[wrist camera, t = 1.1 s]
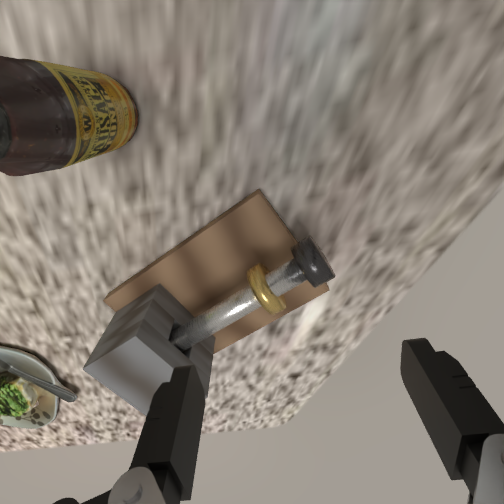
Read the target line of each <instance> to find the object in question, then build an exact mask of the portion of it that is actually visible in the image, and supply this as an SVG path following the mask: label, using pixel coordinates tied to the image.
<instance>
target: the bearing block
mask: <svg viewBox="0 0 504 504" xmlns="http://www.w3.org/2000/svg"><path fill="white" fill-rule="evenodd" d="M297 243H298V242H297V241H296V240H295V238H294V237H293V235H292V234H291V233H290V231H289V230H288V229H287V227H286V226H285V224H284V223H283V222H282V220H281V219H280V217H279V216H278V215H277V213H276V212H275V210H274V209H273V208H272V206H271V205H270V204H269V202H268V201H267V199H266V198H265V197H264V195H263V194H262V192H261V191H260V190H259V189H258V190H256V191H255V192H253V193H252V194H251V195H249V196H248V197H246V198H245V199H243V200H242V201H240V202H239V203H238V204H236V205H235V206H233V207H232V208H230V209H229V210H228V211H226V212H225V213H223V214H222V215H220V216H219V217H217V218H216V219H215V220H213V221H212V222H210V223H209V224H207V225H206V226H204V227H203V228H202V229H200V230H199V231H197V232H196V233H194V234H193V235H192V236H190V237H189V238H187V239H186V240H184V241H183V242H181V243H180V244H179V245H177V246H176V247H174V248H173V249H171V250H170V251H169V252H167V253H166V254H164V255H163V256H161V257H160V258H158V259H157V260H156V261H154V262H153V263H151V264H150V265H148V266H147V267H146V268H144V269H143V270H141V271H140V272H138V273H137V274H135V275H134V276H133V277H131V278H130V279H128V280H127V281H125V282H124V283H123V284H121V285H120V286H118V287H117V288H115V289H114V290H112V291H111V292H110V293H108V295H107V296H106V298H105V299H104V300H103V301H104V302H105V303H106V304H107V305H109V306H110V307H111V308H112V309H113V310H114V311H116V313H115V315H114V316H113V318H112V320H111V322H110V323H109V325H108V327H107V328H106V330H105V332H104V333H103V335H102V337H101V338H100V340H99V342H98V344H97V345H96V347H95V349H94V350H93V352H92V354H91V355H90V357H89V359H88V360H87V362H86V364H85V365H84V367H83V370H84V371H85V372H87V373H88V374H90V375H91V376H92V377H94V378H95V379H96V380H98V381H99V382H100V383H102V384H103V385H105V386H106V387H107V388H109V389H110V390H111V391H113V392H114V393H115V394H117V395H118V396H120V397H121V398H122V399H124V400H125V401H126V402H128V403H129V404H130V405H132V406H133V407H134V408H136V409H137V410H139V411H140V412H141V413H143V414H144V415H145V416H147V413H148V411H149V407H150V404H151V401H152V398H153V395H154V393H155V392H156V391H157V389H158V388H159V387H160V385H161V384H162V383H163V382H170V379H171V376H172V372H173V369H174V368H175V367H179V366H187V365H195V367H196V370H197V372H198V375H199V378H200V381H201V383H202V386H203V389H204V393H205V398H207V397H208V389H209V382H210V375H211V367H212V360H213V354H215V353H216V352H218V351H220V350H222V349H224V348H225V347H227V346H229V345H231V344H233V343H234V342H236V341H238V340H240V339H242V338H244V337H245V336H247V335H249V334H251V333H253V332H254V331H256V330H258V329H260V328H262V327H264V326H265V325H267V324H269V323H271V322H273V321H274V320H276V319H278V318H280V317H282V316H283V315H285V314H287V313H289V312H291V311H293V310H294V309H296V308H298V307H300V306H302V305H303V304H305V303H307V302H309V301H311V300H312V299H314V298H316V297H318V296H320V295H322V294H323V293H325V292H327V291H329V288H328V285H327V283H324V284H322V285H320V286H318V287H317V288H314V287H313V286H312V285H311V284H310V283H309V281H308V280H307V281H305V282H303V283H301V284H300V285H298V286H296V287H294V288H293V289H291V290H289V291H287V292H286V293H284V296H285V299H286V304H287V307H286V309H284V310H282V311H280V312H279V313H277V314H275V315H271V314H269V313H268V312H267V311H266V310H265V309H264V308H263V307H262V306H261V307H259V308H258V309H256V310H254V311H252V312H251V313H249V314H247V315H245V316H244V317H242V318H240V319H239V320H237V321H235V322H233V323H232V324H230V325H228V326H226V327H225V328H223V329H221V330H219V331H218V332H216V333H214V334H212V335H211V336H209V337H207V338H205V339H204V340H202V341H200V342H198V343H197V344H195V345H193V346H191V347H190V348H188V349H186V350H184V351H183V352H181V351H179V350H178V349H177V348H176V347H175V346H174V345H173V344H172V343H170V342H169V341H168V339H169V336H170V332H172V331H173V330H175V329H177V328H178V327H180V326H182V325H183V324H185V323H187V322H188V321H190V320H192V319H193V318H195V317H197V316H198V315H200V314H202V313H203V312H205V311H207V310H208V309H210V308H212V307H213V306H215V305H217V304H218V303H220V302H222V301H223V300H225V299H226V298H228V297H230V296H231V295H233V294H235V293H236V292H238V291H240V290H241V289H243V288H245V287H246V286H248V285H249V282H248V279H247V271H248V270H249V269H250V268H252V267H254V266H255V265H257V264H258V263H261V264H263V265H265V266H266V267H267V268H268V269H269V270H270V272H271V271H273V270H275V269H276V268H278V267H280V266H281V265H283V264H285V263H286V262H288V261H290V260H291V259H293V258H294V257H293V254H292V252H291V247H292V246H294V245H295V244H297Z"/></svg>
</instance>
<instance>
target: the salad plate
mask: <svg viewBox="0 0 504 504" xmlns="http://www.w3.org/2000/svg"><path fill="white" fill-rule="evenodd" d="M59 398H61V399H63V400H65V401H67V402H74V401H75V400H76V398H77V395H76V394H75V393H74V392H72V391H71V390H69V389H68V388H66V387H64V386H63V385H62V384H61V383H60V382H59V381H58V379H57V378H56V377H55V375H54V374H53V372H52V370H50V369H49V368H48V367H47V366H46V365H45V364H44V363H43V362H41V361H40V360H39V359H38V358H37V357H36V356H34V355H32V354H29V353H27V352H24V351H22V350H19V349H14V348H9V347H4V346H0V425H8V426H12V427H19V428H26V429H36V428H41V427H43V426H45V425H47V424H49V423H50V422H52V421H54V420H55V418H56V416H57V411H58V404H59ZM37 400H38V402H39V405H38V406H36V407H34V408H33V406H34V405H35V404H36V402H37Z"/></svg>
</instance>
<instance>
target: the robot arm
mask: <svg viewBox="0 0 504 504" xmlns="http://www.w3.org/2000/svg"><path fill="white" fill-rule="evenodd" d="M401 376H402V380H403V383H404V385H405V387H406V389H407V391H408V393H409V395H410V397H411V399H412V401H413V403H414V405H415V407H416V410H417V412H418V414H419V416H420V418H421V419H422V422H423V424H424V426H425V428H426V430H427V432H428V434H429V435H430V438H431V440H432V442H433V444H434V446H435V448H436V450H437V452H438V454H439V456H440V458H441V460H442V462H443V464H444V466H445V468H446V470H447V472H448V475H449V476H450V479H451V480H460V479H463V480H464V482H465V483H466V485H467V487H468V489H469V495H468V501H467V504H504V424H503V422H502V421H501V419H500V418H499V417H498V415H497V414H496V412H495V411H494V410H493V409H492V407H491V406H490V404H489V403H488V401H487V400H486V399H485V397H484V396H483V395H482V393H481V392H480V391H479V389H478V388H476V385H475V384H474V382H473V381H472V379H471V378H470V377H468V374H467V373H466V371H465V370H464V368H463V367H462V366H461V364H460V363H459V362H458V361H457V360H456V359H455V358H453V357H452V356H451V355H449V354H448V353H446V352H445V351H439V352H435V350H434V349H433V347H432V346H431V344H430V343H429V341H428V340H427V339H426V338H419V339H410V340H404V341H403V342H402V353H401ZM204 409H205V393H204V389H203V386H202V383H201V381H200V378H199V375H198V372H197V370H196V367H195V365H187V366H179V367H175V368H174V369H173V372H172V376H171V379H170V382H163V383H162V384H161V385H160V387H159V388H158V389H157V391H156V392H155V393H154V395H153V398H152V401H151V404H150V407H149V411H148V413H147V417H146V422H145V423H144V426H143V429H142V432H141V435H140V438H139V441H138V444H137V448H136V451H135V454H134V457H133V460H132V463H131V466H130V468H129V470H128V471H127V472H126V473H124V474H123V475H122V476H121V477H120V478H119V479H118V480H117V482H116V483H115V484H114V486H113V488H112V489H111V490H109V491H107V492H105V493H103V494H101V495H99V496H97V497H95V498H93V499H90V500H88V501H86V502H83V503H81V504H180V501H184V500H191V493H192V487H193V480H194V473H195V467H196V461H197V454H198V448H199V441H200V435H201V428H202V422H203V415H204ZM53 504H79V503H78V502H77V501H76V500H75V499H73V498H64V499H61V500H58V501H56V502H55V503H53Z"/></svg>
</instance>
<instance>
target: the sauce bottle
mask: <svg viewBox="0 0 504 504" xmlns="http://www.w3.org/2000/svg"><path fill="white" fill-rule="evenodd" d="M137 119H138V113H137V109H136V106H135V104H134V101H133V99H132V97H131V96H130V94H129V92H128V90H127V89H126V88H125V87H123V86H122V85H120V84H119V83H118V82H117V81H115V80H114V79H112V78H111V77H109V76H107V75H105V74H102V73H98V72H93V71H88V70H83V69H78V68H74V67H69V66H64V65H58V64H53V63H48V62H42V61H35V60H30V59H15V58H9V57H3V56H0V172H3V173H5V174H6V175H9V176H24V175H29V174H34V173H39V172H44V171H50V170H55V169H61V168H64V167H67V166H70V165H73V164H76V163H78V162H81V161H84V160H87V159H90V158H93V157H96V156H98V155H101V154H105V153H107V152H110V151H113V150H116V149H118V148H120V147H122V146H123V145H125V144H126V143H127V142H128V141H129V140H130V139H131V138H132V136H133V134H134V132H135V129H136V126H137V123H138V121H137Z"/></svg>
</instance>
